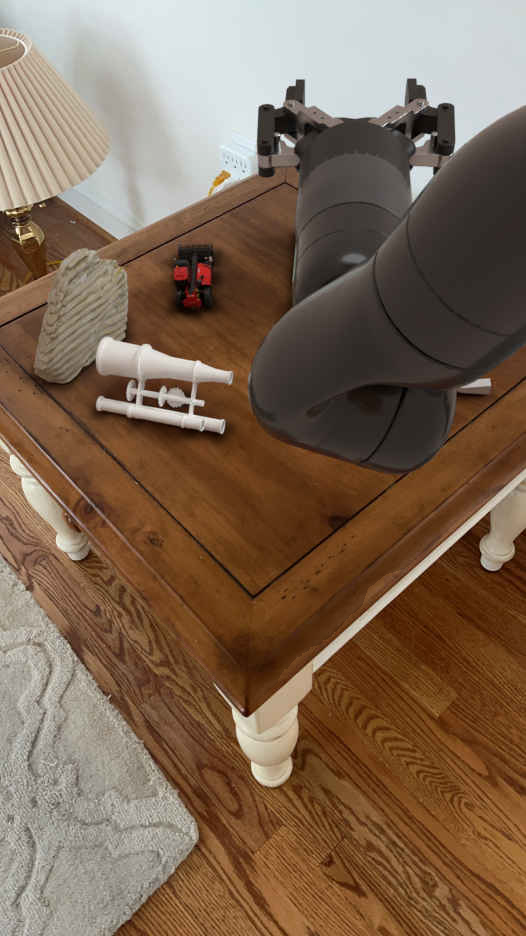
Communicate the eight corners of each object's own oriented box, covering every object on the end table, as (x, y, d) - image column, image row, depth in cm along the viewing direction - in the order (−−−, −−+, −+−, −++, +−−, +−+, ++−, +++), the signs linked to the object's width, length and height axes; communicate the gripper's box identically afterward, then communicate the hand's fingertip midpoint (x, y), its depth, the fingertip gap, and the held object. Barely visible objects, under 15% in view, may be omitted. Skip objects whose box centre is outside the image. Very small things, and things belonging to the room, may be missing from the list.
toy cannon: (229, 433, 79) (215, 436, 74) (109, 410, 82) (87, 412, 77) (241, 358, 78) (227, 357, 73) (118, 337, 81) (96, 335, 76)
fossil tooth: (30, 379, 85) (114, 296, 91) (70, 399, 82) (153, 312, 88) (-14, 304, 76) (82, 217, 82) (29, 323, 73) (125, 232, 79)
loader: (180, 256, 96) (174, 224, 92) (215, 254, 96) (212, 222, 92) (174, 318, 88) (169, 286, 85) (213, 316, 88) (209, 284, 84)
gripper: (475, 155, 45) (454, 38, 55) (241, 155, 46) (262, 41, 56) (455, 259, 51) (440, 136, 61) (248, 257, 52) (266, 137, 62)
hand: (354, 90), depth 58 cm, fingers open, 8 cm apart
